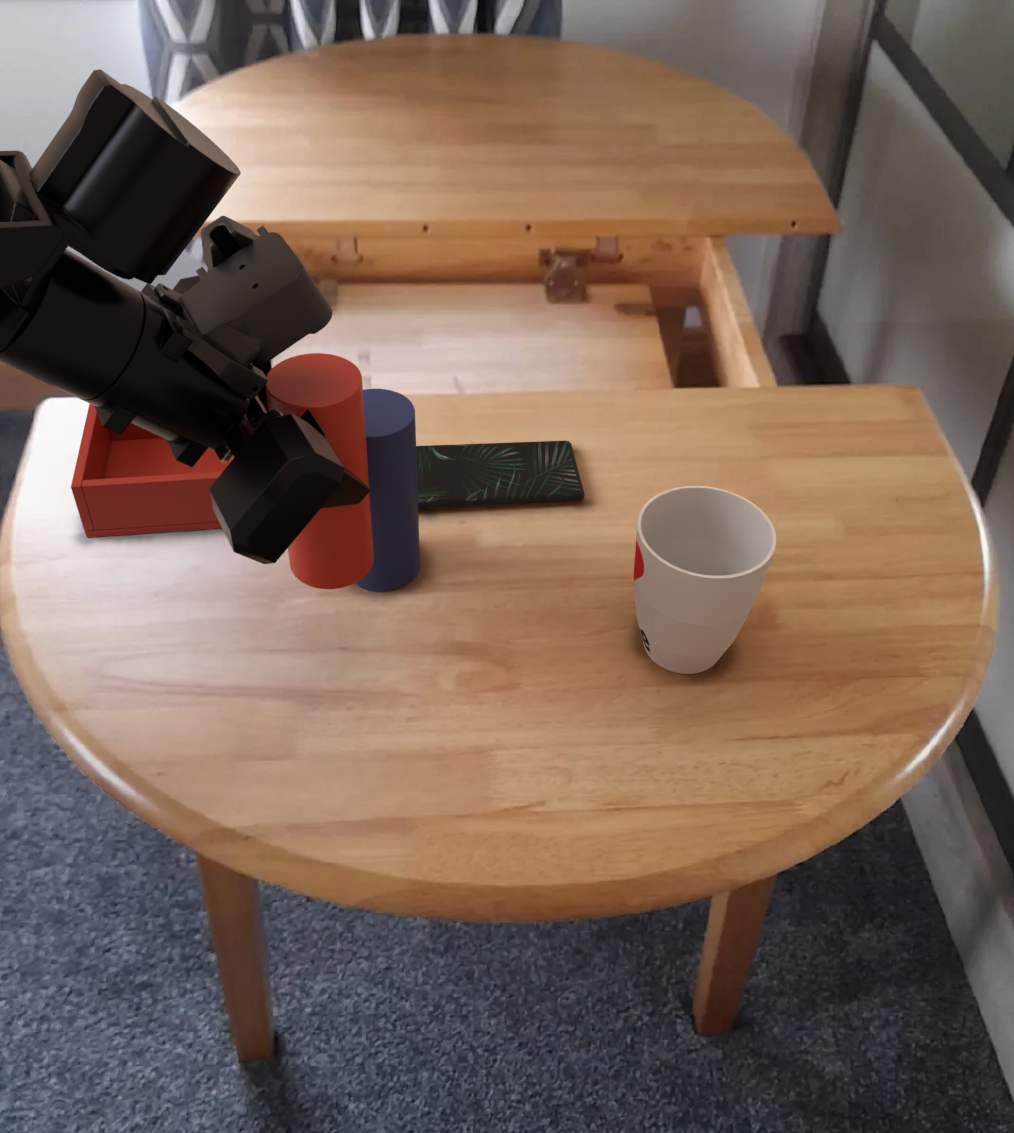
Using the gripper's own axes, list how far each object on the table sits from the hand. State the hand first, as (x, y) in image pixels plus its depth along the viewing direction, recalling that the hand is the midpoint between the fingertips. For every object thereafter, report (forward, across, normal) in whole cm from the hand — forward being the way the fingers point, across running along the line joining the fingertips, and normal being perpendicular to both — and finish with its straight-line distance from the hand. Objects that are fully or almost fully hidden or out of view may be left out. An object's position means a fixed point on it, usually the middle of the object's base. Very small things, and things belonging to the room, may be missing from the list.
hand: (346, 468), depth 63 cm
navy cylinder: (+12, +5, +7) cm, 15 cm away
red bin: (+5, +20, +14) cm, 25 cm away
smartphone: (+19, +10, 0) cm, 22 cm away
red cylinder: (+4, 0, +6) cm, 7 cm away
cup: (+22, -10, -3) cm, 25 cm away
